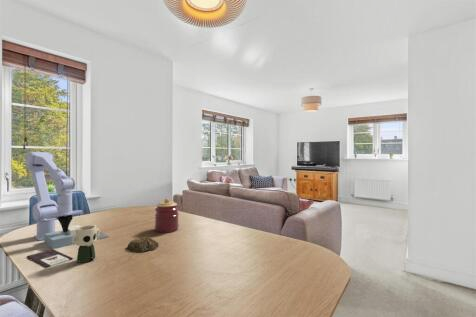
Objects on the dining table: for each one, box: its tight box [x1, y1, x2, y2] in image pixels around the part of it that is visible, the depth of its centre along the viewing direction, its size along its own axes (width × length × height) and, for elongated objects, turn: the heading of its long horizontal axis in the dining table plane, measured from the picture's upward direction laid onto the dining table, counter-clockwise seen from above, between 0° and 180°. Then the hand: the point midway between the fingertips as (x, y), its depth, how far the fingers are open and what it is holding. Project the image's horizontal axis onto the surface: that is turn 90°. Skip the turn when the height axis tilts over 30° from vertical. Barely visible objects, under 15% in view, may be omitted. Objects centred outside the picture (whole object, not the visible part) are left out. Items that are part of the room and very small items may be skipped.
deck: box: [44, 229, 76, 250], centre depth 119 cm, size 14×11×4 cm
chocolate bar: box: [26, 248, 74, 269], centre depth 101 cm, size 9×1×18 cm
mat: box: [96, 231, 110, 241], centre depth 128 cm, size 16×12×1 cm
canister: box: [154, 197, 180, 233], centre depth 141 cm, size 13×13×18 cm
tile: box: [67, 224, 81, 235], centre depth 123 cm, size 9×6×2 cm, turn 49°
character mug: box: [72, 224, 101, 263], centre depth 99 cm, size 11×7×13 cm, turn 153°
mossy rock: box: [127, 236, 159, 253], centre depth 113 cm, size 13×12×5 cm
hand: (65, 231), depth 120 cm, fingers closed
